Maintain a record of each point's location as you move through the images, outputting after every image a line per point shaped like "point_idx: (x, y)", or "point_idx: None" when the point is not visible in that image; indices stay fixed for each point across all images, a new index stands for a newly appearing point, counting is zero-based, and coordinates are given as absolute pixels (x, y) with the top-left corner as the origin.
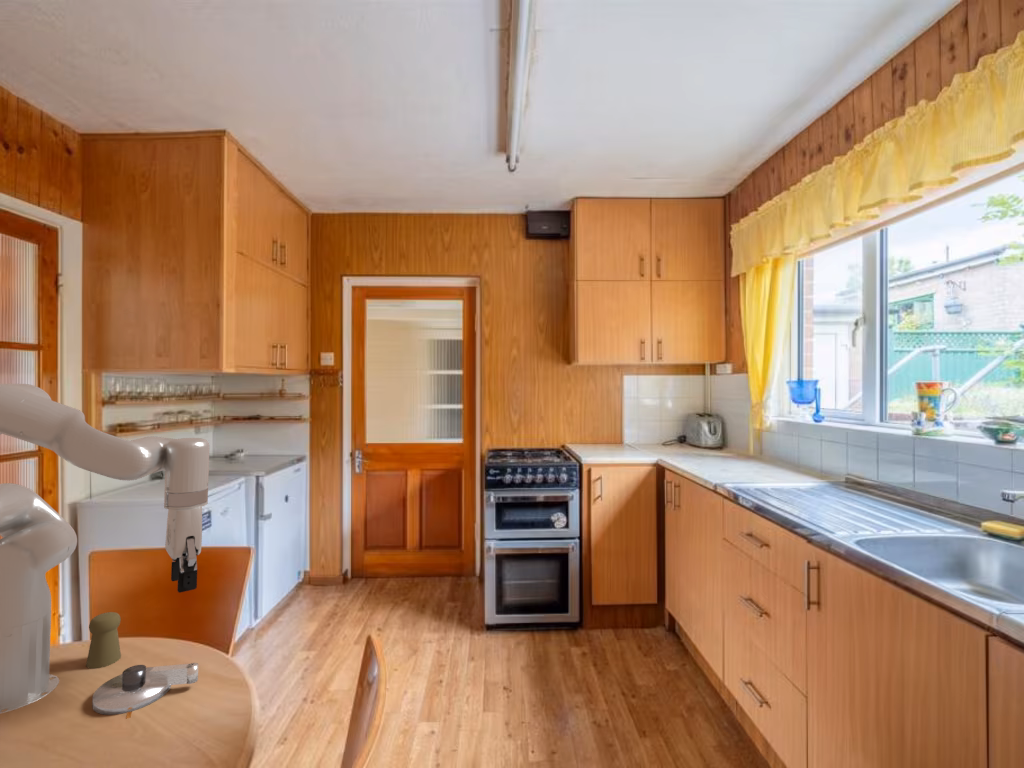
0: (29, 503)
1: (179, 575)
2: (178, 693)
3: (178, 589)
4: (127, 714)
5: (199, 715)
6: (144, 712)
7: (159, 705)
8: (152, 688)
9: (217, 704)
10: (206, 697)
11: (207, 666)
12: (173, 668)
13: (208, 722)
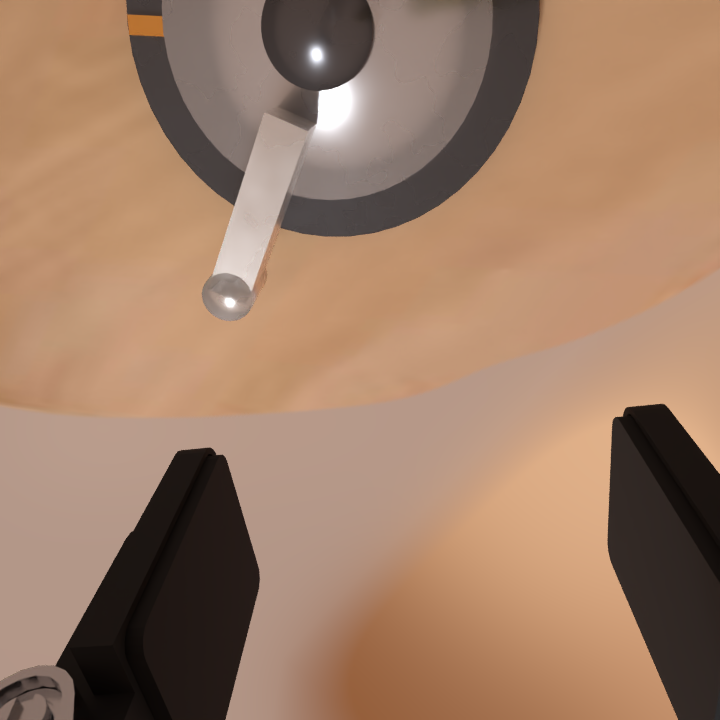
0: None
1: (96, 619)
2: None
3: (168, 470)
4: (157, 19)
5: (97, 273)
6: None
7: None
8: (248, 120)
9: (142, 329)
10: None
11: (444, 320)
12: (241, 220)
13: (43, 296)
